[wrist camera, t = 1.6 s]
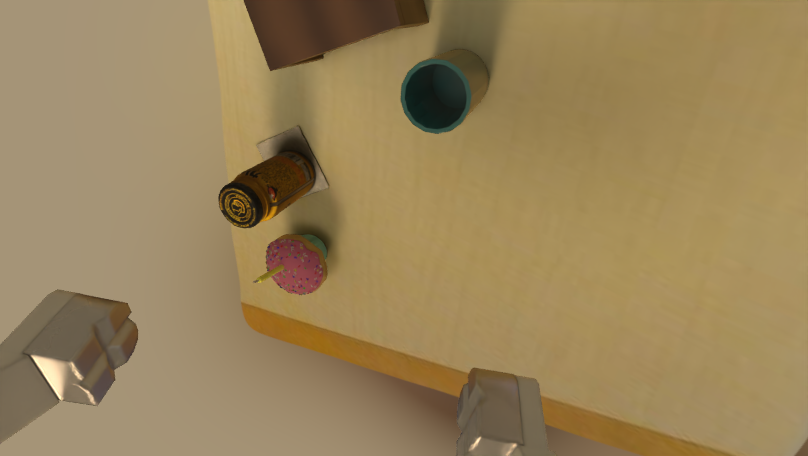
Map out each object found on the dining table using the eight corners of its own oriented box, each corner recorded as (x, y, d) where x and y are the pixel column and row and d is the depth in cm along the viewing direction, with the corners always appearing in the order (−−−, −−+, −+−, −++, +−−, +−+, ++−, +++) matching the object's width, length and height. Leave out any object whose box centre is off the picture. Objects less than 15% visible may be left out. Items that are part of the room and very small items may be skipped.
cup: (481, 41, 45) (461, 49, 36) (494, 102, 47) (478, 124, 38) (423, 58, 47) (392, 70, 39) (438, 116, 49) (412, 139, 41)
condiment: (287, 202, 61) (230, 242, 51) (256, 144, 58) (190, 174, 48) (330, 187, 58) (278, 226, 47) (299, 125, 55) (238, 152, 45)
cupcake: (275, 234, 64) (219, 278, 54) (317, 212, 60) (266, 254, 50) (308, 283, 66) (261, 334, 56) (352, 264, 62) (309, 315, 52)
